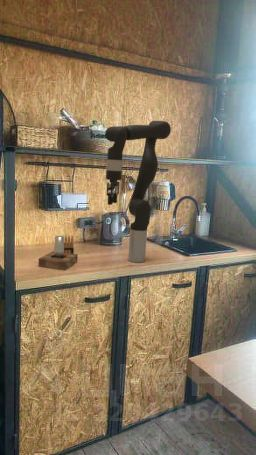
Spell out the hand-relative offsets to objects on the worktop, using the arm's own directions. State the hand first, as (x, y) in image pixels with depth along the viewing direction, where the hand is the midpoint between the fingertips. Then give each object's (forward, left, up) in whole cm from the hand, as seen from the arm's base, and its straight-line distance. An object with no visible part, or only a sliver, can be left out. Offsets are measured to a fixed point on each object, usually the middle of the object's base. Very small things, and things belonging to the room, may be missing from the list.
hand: (112, 203), depth 178 cm
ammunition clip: (-10, -28, -32) cm, 44 cm away
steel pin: (+4, -25, -32) cm, 41 cm away
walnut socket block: (+4, -25, -32) cm, 41 cm away
